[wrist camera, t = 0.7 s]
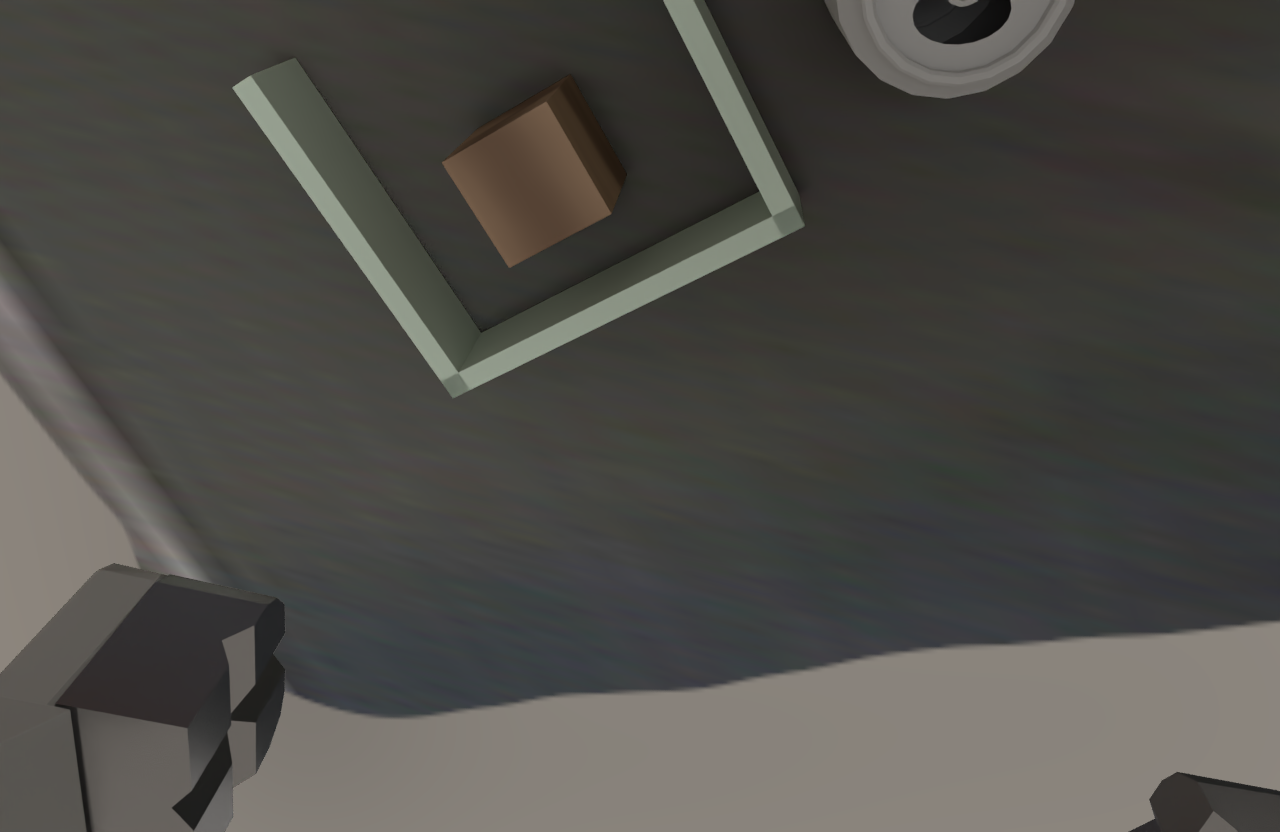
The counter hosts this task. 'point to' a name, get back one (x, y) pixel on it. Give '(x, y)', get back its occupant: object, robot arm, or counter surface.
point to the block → (538, 172)
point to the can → (947, 40)
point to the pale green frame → (475, 357)
